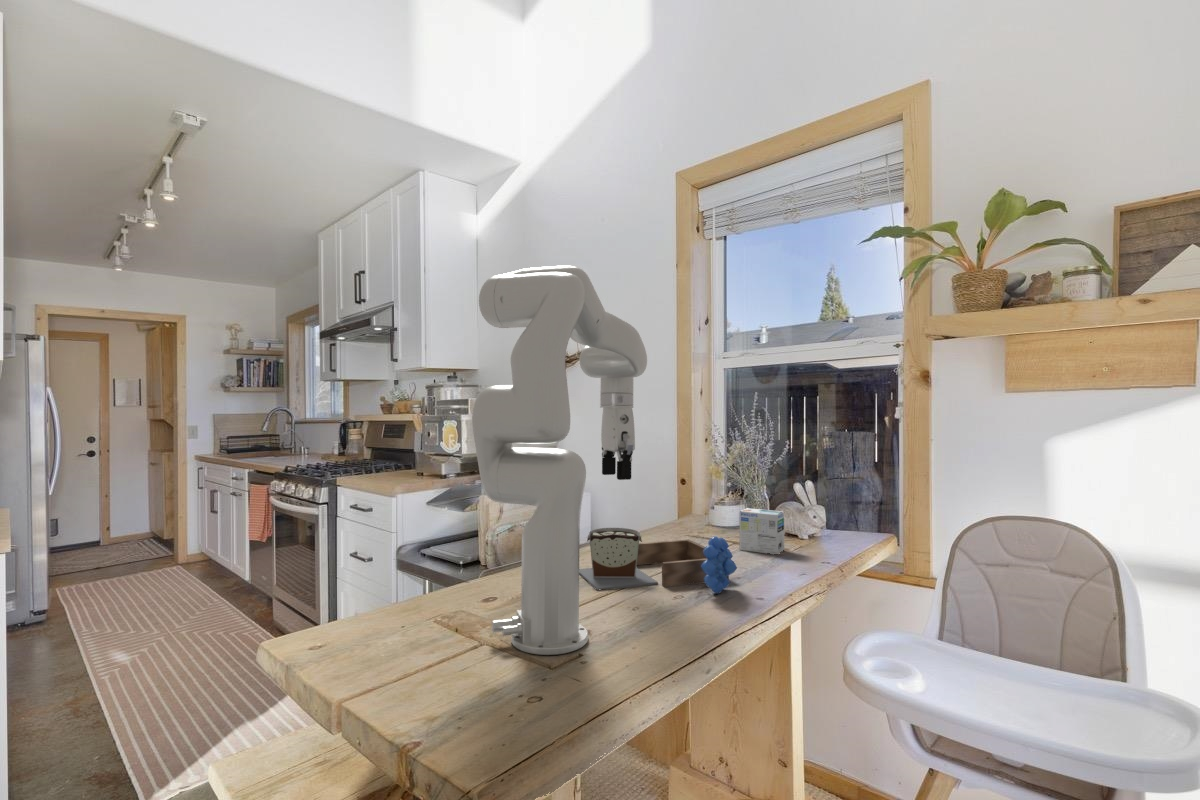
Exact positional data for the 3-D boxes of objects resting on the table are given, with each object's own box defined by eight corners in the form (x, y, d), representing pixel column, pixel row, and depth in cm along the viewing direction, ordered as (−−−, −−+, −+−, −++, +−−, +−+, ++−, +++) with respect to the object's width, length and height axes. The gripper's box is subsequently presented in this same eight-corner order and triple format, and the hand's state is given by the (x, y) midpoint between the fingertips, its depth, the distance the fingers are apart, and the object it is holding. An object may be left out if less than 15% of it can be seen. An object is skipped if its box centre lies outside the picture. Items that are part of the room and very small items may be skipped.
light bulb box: (785, 550, 160) (785, 510, 160) (778, 555, 155) (778, 514, 155) (746, 545, 166) (746, 506, 166) (738, 550, 160) (738, 510, 160)
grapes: (725, 604, 116) (725, 543, 116) (694, 598, 120) (694, 538, 120) (747, 590, 125) (748, 533, 125) (718, 584, 129) (718, 529, 129)
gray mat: (597, 590, 124) (597, 588, 124) (576, 571, 138) (576, 569, 138) (657, 584, 129) (657, 582, 129) (631, 566, 143) (631, 564, 143)
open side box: (663, 586, 127) (664, 563, 127) (630, 564, 145) (630, 543, 145) (728, 580, 132) (728, 557, 132) (688, 559, 150) (688, 539, 150)
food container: (639, 570, 138) (640, 527, 138) (641, 577, 132) (642, 532, 132) (586, 569, 138) (587, 526, 138) (586, 577, 132) (586, 532, 132)
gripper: (647, 401, 128) (646, 481, 127) (618, 402, 144) (618, 472, 144) (614, 401, 125) (614, 482, 125) (589, 401, 141) (588, 473, 141)
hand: (616, 476), depth 134 cm, fingers open, 9 cm apart
